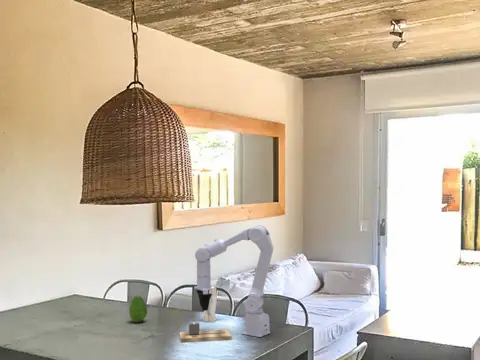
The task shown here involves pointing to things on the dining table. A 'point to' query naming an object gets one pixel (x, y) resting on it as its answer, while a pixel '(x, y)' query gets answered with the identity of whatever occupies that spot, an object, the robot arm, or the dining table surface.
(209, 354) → the dining table surface
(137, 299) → the avocado
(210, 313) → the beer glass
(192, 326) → the fader knob
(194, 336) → the fader board
